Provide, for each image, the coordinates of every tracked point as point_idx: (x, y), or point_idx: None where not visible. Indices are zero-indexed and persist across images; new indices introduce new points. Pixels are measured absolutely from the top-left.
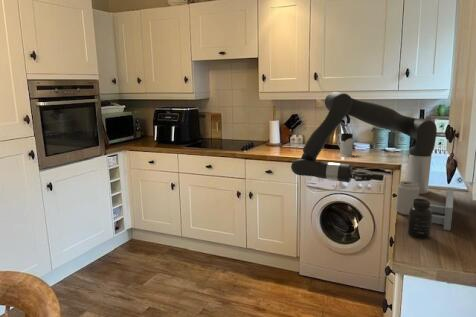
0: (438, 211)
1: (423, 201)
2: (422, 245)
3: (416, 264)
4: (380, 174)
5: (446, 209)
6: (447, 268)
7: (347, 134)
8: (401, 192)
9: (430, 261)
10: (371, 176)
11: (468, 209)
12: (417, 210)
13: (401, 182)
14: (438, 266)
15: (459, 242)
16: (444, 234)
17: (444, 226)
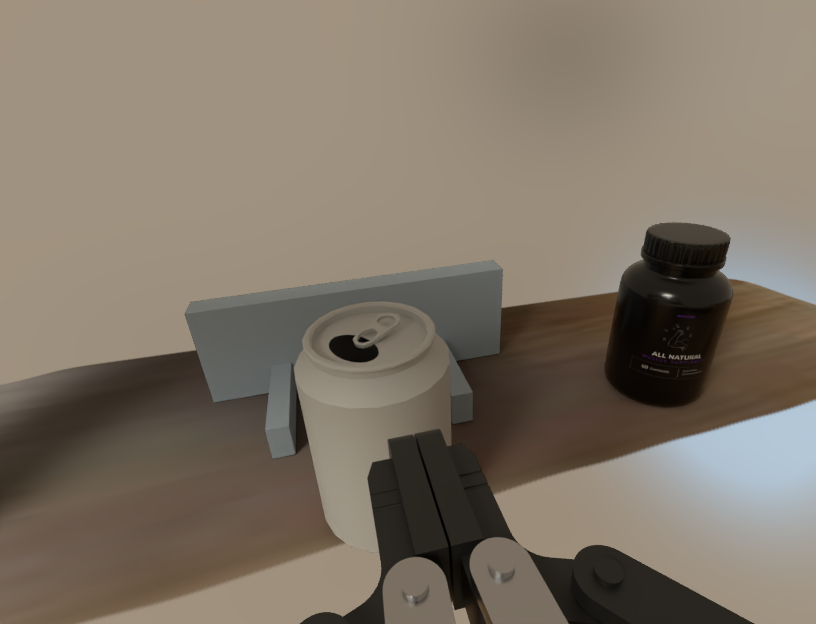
0: (295, 398)
1: (689, 229)
2: (722, 353)
3: None
4: (407, 460)
5: (501, 277)
6: (777, 296)
7: None
8: (447, 397)
9: (798, 319)
10: (543, 567)
11: (184, 356)
12: (719, 271)
13: (362, 368)
14: (797, 306)
15: (571, 314)
16: (546, 343)
17: (499, 341)
